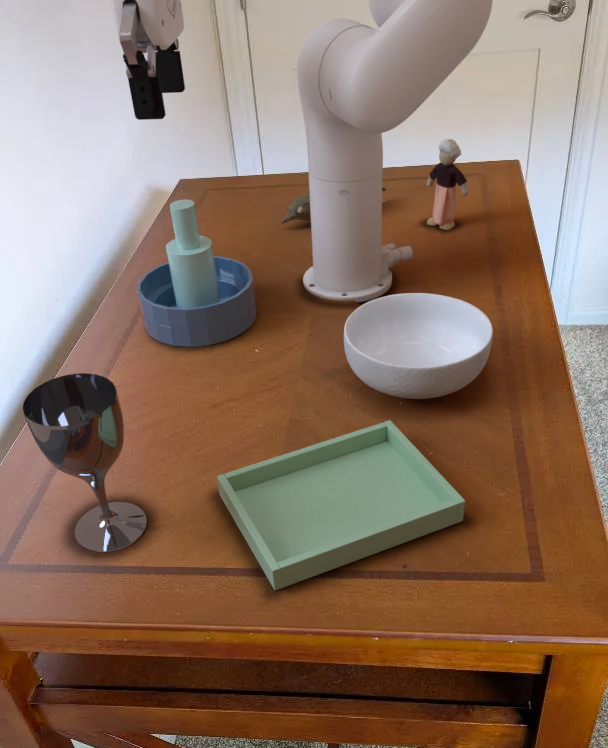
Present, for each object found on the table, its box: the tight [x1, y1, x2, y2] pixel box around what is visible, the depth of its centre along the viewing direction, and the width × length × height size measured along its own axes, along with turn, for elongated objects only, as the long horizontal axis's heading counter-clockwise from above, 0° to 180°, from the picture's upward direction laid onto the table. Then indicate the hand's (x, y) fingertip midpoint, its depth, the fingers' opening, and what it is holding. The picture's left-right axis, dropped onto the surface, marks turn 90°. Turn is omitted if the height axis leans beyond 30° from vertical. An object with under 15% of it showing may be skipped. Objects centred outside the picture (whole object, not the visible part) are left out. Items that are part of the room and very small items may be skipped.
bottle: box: [165, 199, 220, 308], centre depth 98 cm, size 6×6×15 cm
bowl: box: [136, 255, 258, 348], centre depth 102 cm, size 15×15×6 cm
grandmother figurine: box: [426, 138, 470, 231], centre depth 117 cm, size 8×4×13 cm, turn 55°
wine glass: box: [22, 372, 148, 553], centre depth 71 cm, size 8×8×15 cm
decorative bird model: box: [280, 186, 387, 225], centre depth 125 cm, size 5×20×5 cm, turn 117°
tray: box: [216, 419, 466, 591], centre depth 75 cm, size 20×15×3 cm
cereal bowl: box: [343, 292, 494, 400], centre depth 89 cm, size 17×17×7 cm
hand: (161, 104), depth 85 cm, fingers open, 9 cm apart
